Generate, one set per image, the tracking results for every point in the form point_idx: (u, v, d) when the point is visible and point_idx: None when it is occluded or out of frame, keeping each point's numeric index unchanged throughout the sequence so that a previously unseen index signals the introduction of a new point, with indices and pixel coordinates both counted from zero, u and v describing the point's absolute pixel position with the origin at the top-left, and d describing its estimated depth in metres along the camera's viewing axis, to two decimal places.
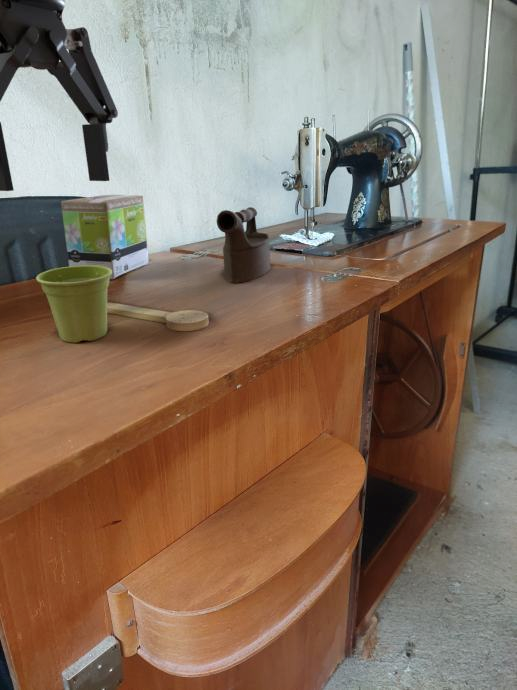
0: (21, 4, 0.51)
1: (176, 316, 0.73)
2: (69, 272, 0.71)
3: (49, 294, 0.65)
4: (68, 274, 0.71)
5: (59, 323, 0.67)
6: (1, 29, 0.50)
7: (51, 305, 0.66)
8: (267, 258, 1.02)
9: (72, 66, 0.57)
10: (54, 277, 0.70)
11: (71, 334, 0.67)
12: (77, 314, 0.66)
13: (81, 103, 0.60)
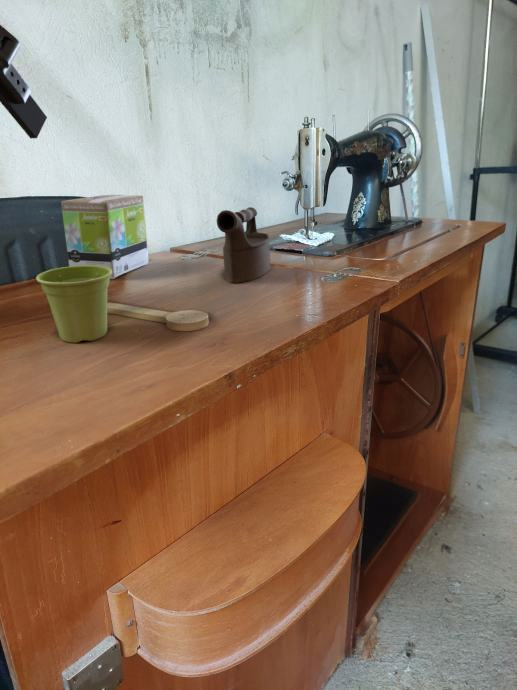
0: None
1: (176, 316, 0.73)
2: (69, 272, 0.71)
3: (49, 294, 0.65)
4: (68, 274, 0.71)
5: (59, 323, 0.67)
6: None
7: (51, 305, 0.66)
8: (267, 258, 1.02)
9: None
10: (54, 277, 0.70)
11: (71, 334, 0.67)
12: (77, 314, 0.66)
13: None
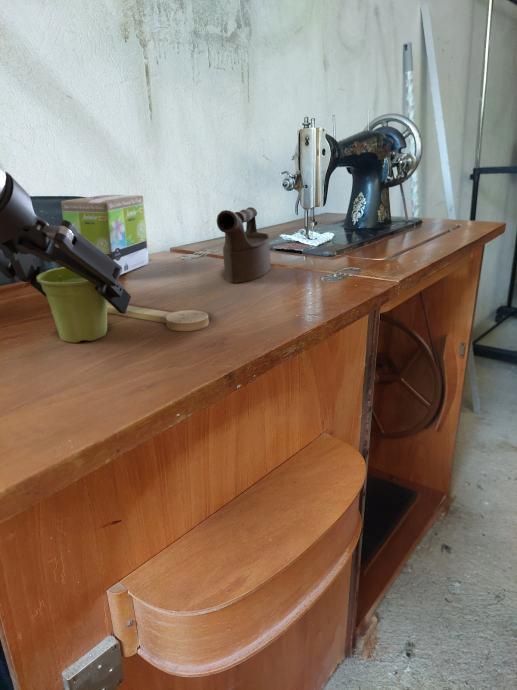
0: None
1: (176, 316, 0.73)
2: (69, 272, 0.71)
3: (49, 294, 0.65)
4: (68, 274, 0.71)
5: (59, 323, 0.67)
6: None
7: (51, 305, 0.66)
8: (267, 258, 1.02)
9: (50, 261, 0.59)
10: (54, 277, 0.70)
11: (71, 334, 0.67)
12: (77, 314, 0.66)
13: None
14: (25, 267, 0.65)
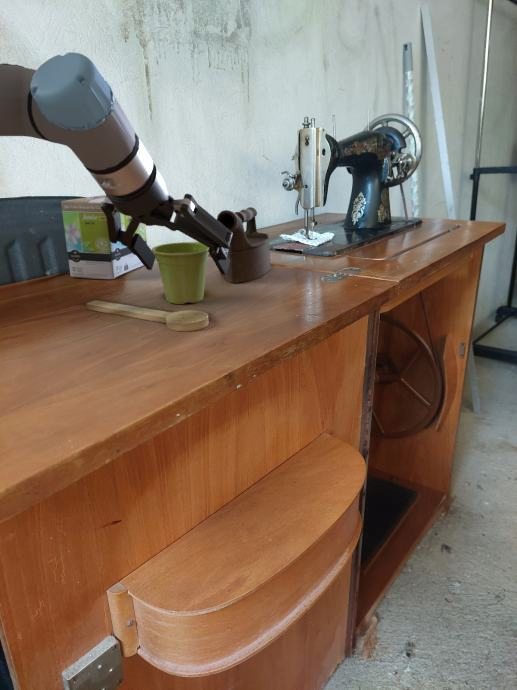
0: None
1: (176, 316, 0.73)
2: (172, 248, 0.86)
3: (164, 263, 0.80)
4: (171, 249, 0.86)
5: (169, 288, 0.82)
6: None
7: (163, 273, 0.81)
8: (267, 258, 1.02)
9: (175, 229, 0.73)
10: (161, 251, 0.85)
11: (179, 297, 0.82)
12: (185, 280, 0.81)
13: None
14: None
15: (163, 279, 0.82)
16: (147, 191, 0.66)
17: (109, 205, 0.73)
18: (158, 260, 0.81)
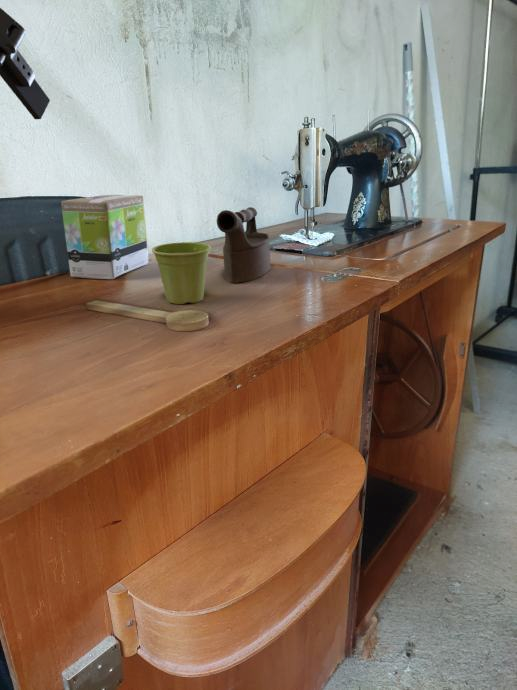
0: None
1: (176, 316, 0.73)
2: (172, 248, 0.86)
3: (164, 263, 0.80)
4: (171, 249, 0.86)
5: (169, 288, 0.82)
6: None
7: (163, 273, 0.81)
8: (267, 258, 1.02)
9: None
10: (161, 251, 0.85)
11: (179, 297, 0.82)
12: (185, 280, 0.81)
13: None
14: None
15: (163, 279, 0.82)
16: None
17: None
18: (158, 260, 0.81)
